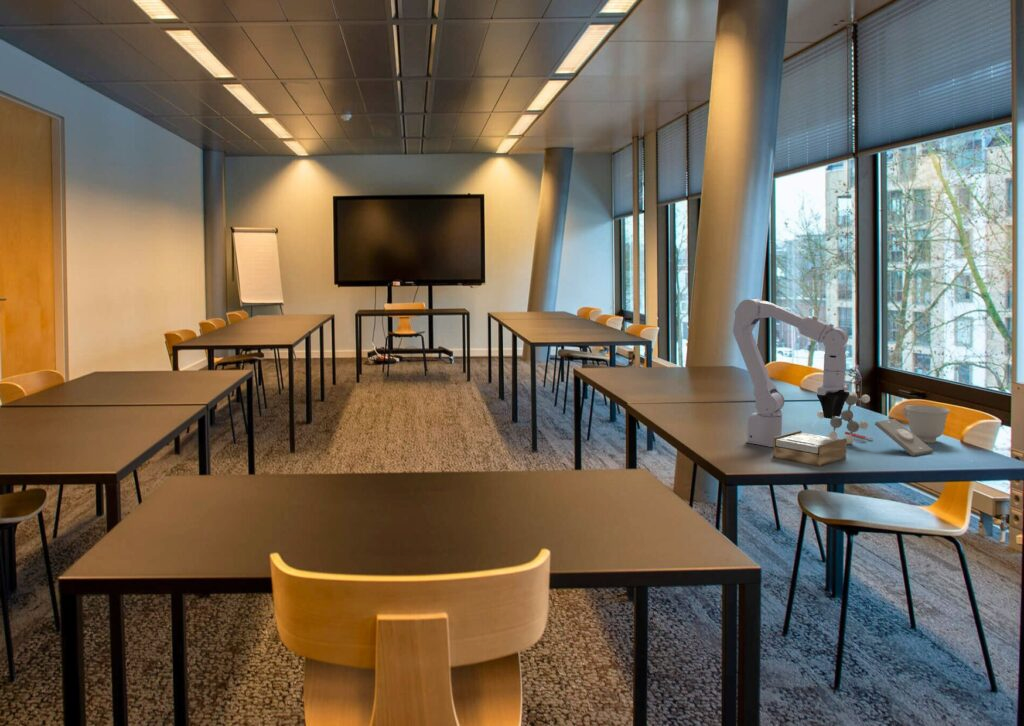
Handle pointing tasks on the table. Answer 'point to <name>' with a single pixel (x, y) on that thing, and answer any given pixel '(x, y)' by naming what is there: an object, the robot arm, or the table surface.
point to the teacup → (926, 421)
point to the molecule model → (848, 419)
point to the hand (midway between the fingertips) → (832, 417)
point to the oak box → (825, 456)
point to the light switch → (903, 437)
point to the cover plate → (804, 442)
